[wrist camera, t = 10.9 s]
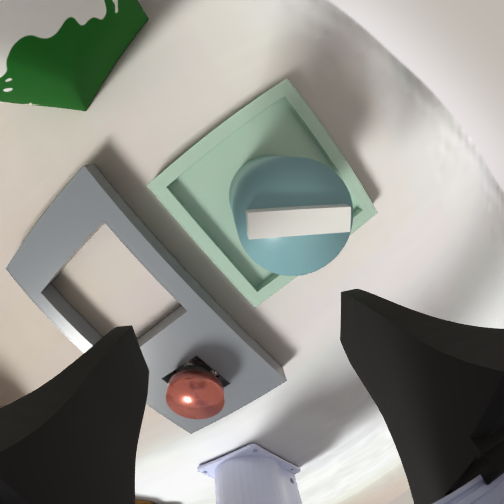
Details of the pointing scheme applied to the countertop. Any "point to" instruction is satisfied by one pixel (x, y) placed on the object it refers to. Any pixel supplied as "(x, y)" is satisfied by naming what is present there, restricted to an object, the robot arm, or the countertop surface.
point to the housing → (167, 274)
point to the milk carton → (62, 48)
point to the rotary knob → (290, 213)
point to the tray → (225, 167)
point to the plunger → (195, 391)
